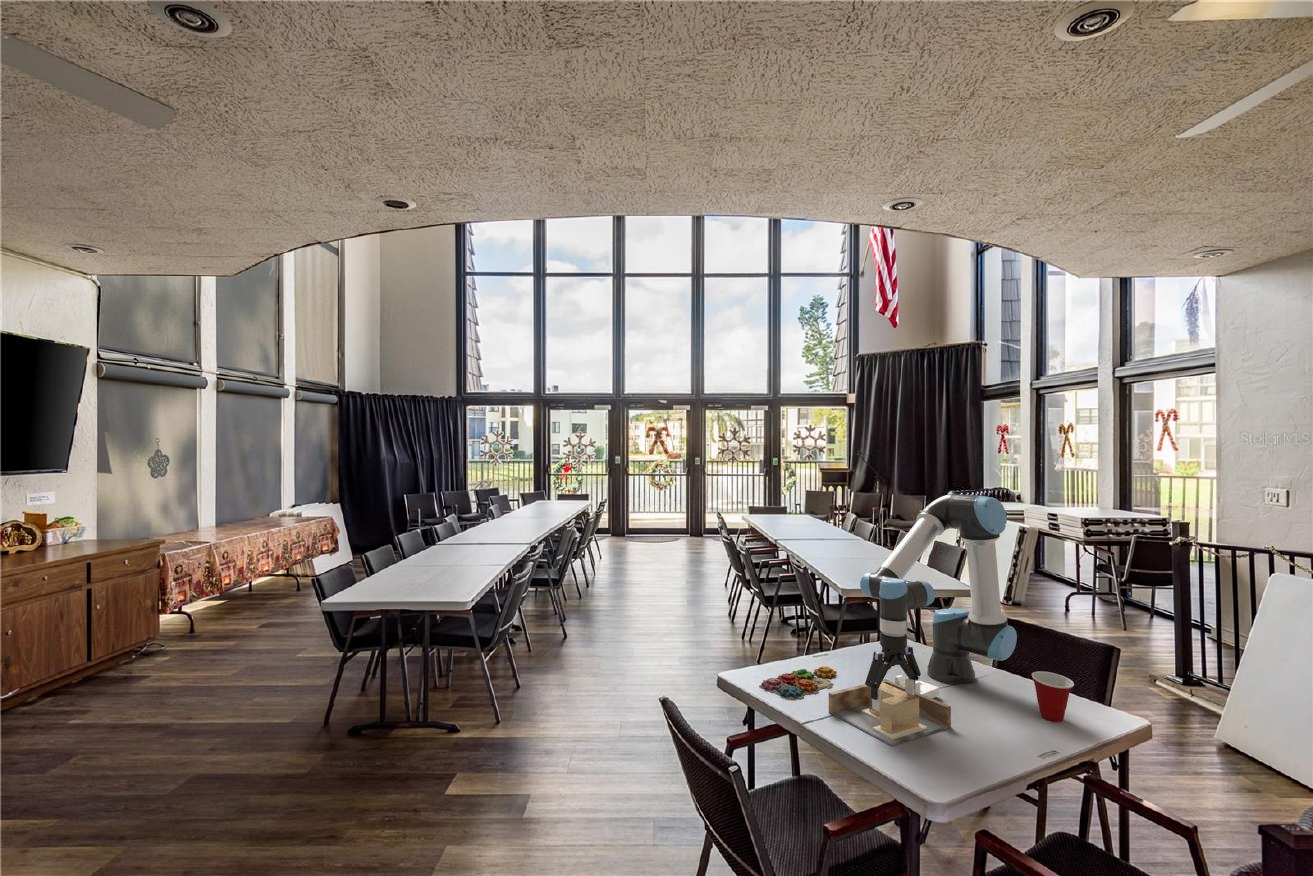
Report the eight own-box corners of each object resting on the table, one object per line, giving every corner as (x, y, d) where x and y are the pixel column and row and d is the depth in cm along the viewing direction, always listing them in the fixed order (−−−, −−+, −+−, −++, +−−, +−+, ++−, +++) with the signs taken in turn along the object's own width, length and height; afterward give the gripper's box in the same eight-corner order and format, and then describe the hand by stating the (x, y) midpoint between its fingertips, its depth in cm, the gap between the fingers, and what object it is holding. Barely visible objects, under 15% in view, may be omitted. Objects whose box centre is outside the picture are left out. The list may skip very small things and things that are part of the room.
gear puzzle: (816, 668, 235) (816, 657, 235) (854, 681, 223) (853, 669, 223) (756, 688, 216) (756, 676, 216) (793, 703, 204) (793, 690, 204)
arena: (885, 698, 207) (885, 679, 207) (950, 727, 186) (950, 706, 186) (828, 712, 196) (828, 692, 196) (891, 745, 174) (891, 723, 174)
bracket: (915, 708, 200) (915, 683, 200) (895, 700, 205) (895, 676, 205) (939, 698, 207) (939, 674, 207) (919, 691, 213) (919, 668, 213)
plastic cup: (1063, 729, 184) (1063, 687, 184) (1024, 716, 193) (1024, 676, 193) (1081, 720, 190) (1081, 679, 190) (1042, 707, 199) (1042, 668, 199)
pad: (880, 707, 198) (880, 705, 198) (927, 729, 183) (927, 727, 183) (846, 716, 192) (846, 714, 192) (892, 739, 177) (892, 737, 177)
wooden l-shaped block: (919, 726, 184) (919, 697, 184) (891, 734, 179) (891, 705, 179) (881, 708, 196) (881, 681, 196) (854, 715, 191) (854, 688, 191)
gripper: (912, 623, 198) (912, 693, 198) (852, 635, 186) (852, 709, 186) (933, 630, 191) (933, 702, 191) (872, 642, 180) (872, 719, 180)
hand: (893, 705), depth 189 cm, fingers open, 13 cm apart
